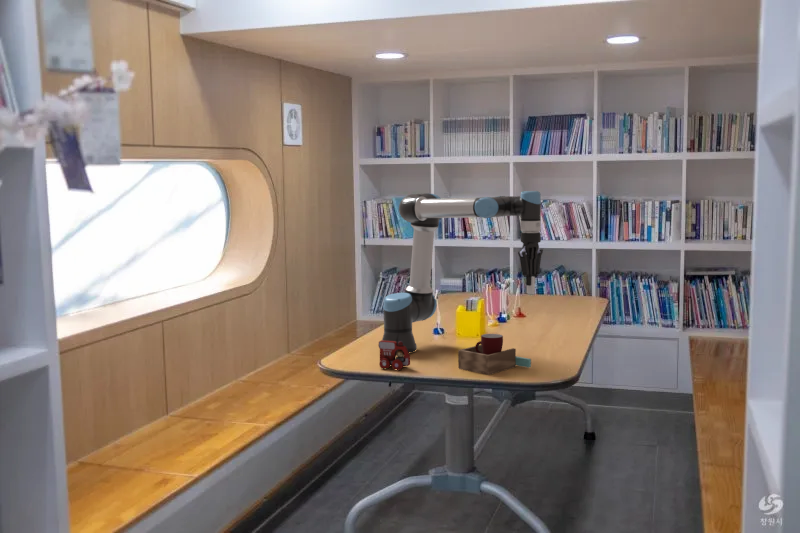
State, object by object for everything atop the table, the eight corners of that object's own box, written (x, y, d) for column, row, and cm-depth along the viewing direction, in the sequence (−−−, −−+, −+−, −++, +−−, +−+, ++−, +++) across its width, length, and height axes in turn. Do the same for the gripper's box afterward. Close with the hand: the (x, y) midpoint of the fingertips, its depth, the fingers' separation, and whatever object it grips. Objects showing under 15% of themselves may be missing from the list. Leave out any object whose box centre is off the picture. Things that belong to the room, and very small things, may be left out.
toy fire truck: (406, 371, 295) (405, 343, 294) (375, 369, 299) (375, 341, 298) (413, 367, 301) (412, 340, 300) (383, 364, 306) (382, 338, 305)
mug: (472, 363, 296) (472, 337, 295) (477, 358, 304) (477, 332, 303) (500, 365, 293) (500, 338, 292) (504, 360, 301) (504, 334, 300)
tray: (461, 366, 299) (461, 358, 298) (488, 358, 310) (488, 351, 309) (504, 374, 284) (504, 366, 284) (530, 366, 296) (530, 358, 295)
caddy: (458, 368, 298) (458, 350, 297) (485, 361, 309) (485, 343, 308) (488, 374, 287) (488, 355, 287) (515, 367, 299) (515, 348, 298)
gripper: (528, 233, 294) (528, 296, 297) (548, 231, 304) (548, 292, 306) (512, 232, 300) (512, 294, 302) (532, 230, 309) (532, 291, 311)
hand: (530, 293), depth 304 cm, fingers closed
